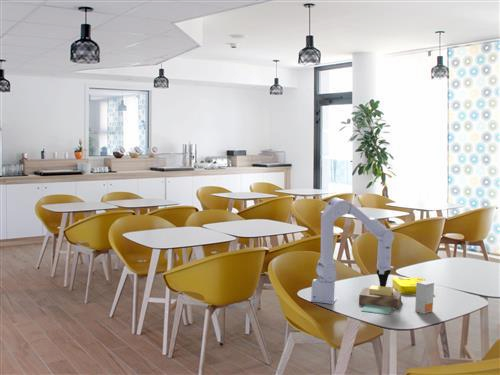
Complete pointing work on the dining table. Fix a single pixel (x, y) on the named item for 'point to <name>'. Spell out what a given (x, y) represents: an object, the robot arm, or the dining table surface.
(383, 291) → the yellow block
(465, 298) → the dining table surface
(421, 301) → the skincare box
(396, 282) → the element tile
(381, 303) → the plate
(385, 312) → the mat
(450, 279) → the dining table surface
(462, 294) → the dining table surface
